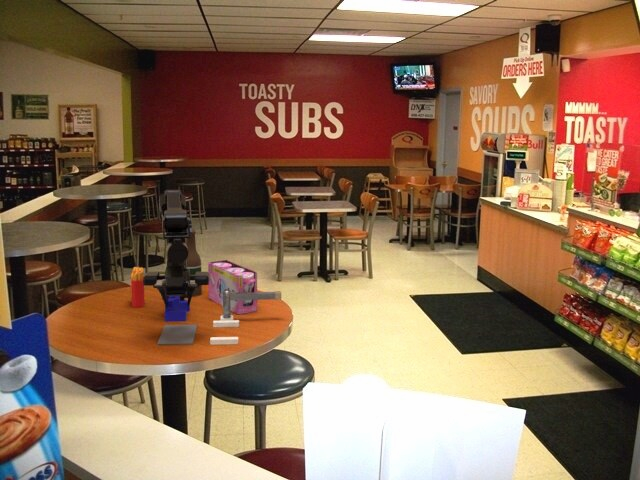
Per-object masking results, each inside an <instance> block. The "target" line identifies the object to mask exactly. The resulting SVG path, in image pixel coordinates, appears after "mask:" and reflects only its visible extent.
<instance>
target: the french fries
mask: <svg viewBox="0 0 640 480" xmlns="http://www.w3.org/2000/svg"><path fill="white" fill-rule="evenodd" d="M143 277H144V267H142V266H141V267H140V266H134V267H133V268H132V271H131V274H130V285H131V286H130V287H131V288H130V291H131V306H132V308H143V307H145V285H143Z"/></svg>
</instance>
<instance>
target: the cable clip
mask: <svg viewBox="0 0 640 480" xmlns="http://www.w3.org/2000/svg"><path fill="white" fill-rule="evenodd" d="M186 312H187V313H189V312H191V304H190V305H189V307H188V300H187V301H180V296H170V297H169V299H168V301H167V308H166V310H165V309H164V316H165V318H164V322H165V323H166V322H170V323H171V322H187V314H186Z"/></svg>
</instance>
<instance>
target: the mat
mask: <svg viewBox="0 0 640 480" xmlns="http://www.w3.org/2000/svg"><path fill="white" fill-rule="evenodd" d="M197 328H198V324H164V326H163V329H162V331H161V334H160V336H159V338H158V341H157V344H156V345H157V346H170V345H171V346H173V345H174V346H177V345H178V346H179V345H183V346H186V345H193V344H194V342H195V336H196V332H197Z"/></svg>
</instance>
